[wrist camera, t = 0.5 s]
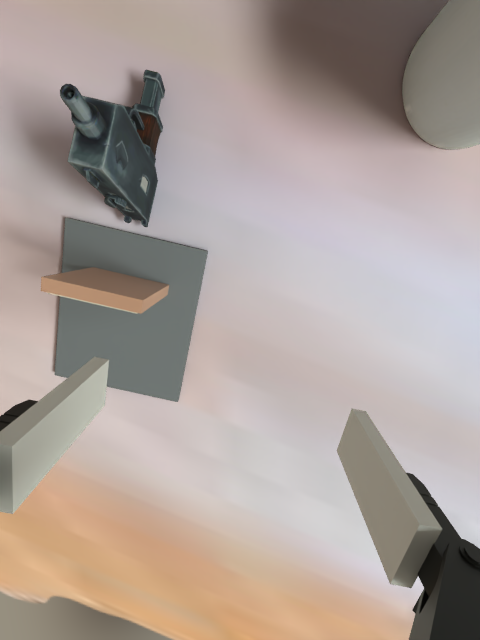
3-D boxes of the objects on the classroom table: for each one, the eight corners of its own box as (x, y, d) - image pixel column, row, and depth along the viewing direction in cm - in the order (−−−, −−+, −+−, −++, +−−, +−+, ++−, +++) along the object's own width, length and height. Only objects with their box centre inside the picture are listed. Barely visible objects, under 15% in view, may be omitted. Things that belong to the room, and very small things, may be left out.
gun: (125, -70, 20) (75, 154, 20) (174, 108, 36) (147, 228, 36) (84, -80, 20) (34, 144, 20) (152, 103, 36) (125, 223, 36)
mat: (69, 217, 38) (65, 217, 37) (208, 251, 38) (207, 251, 38) (58, 372, 44) (54, 375, 43) (178, 399, 44) (177, 402, 43)
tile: (93, 267, 39) (41, 276, 29) (169, 284, 39) (143, 300, 29) (92, 279, 39) (40, 292, 29) (167, 296, 39) (140, 315, 30)
